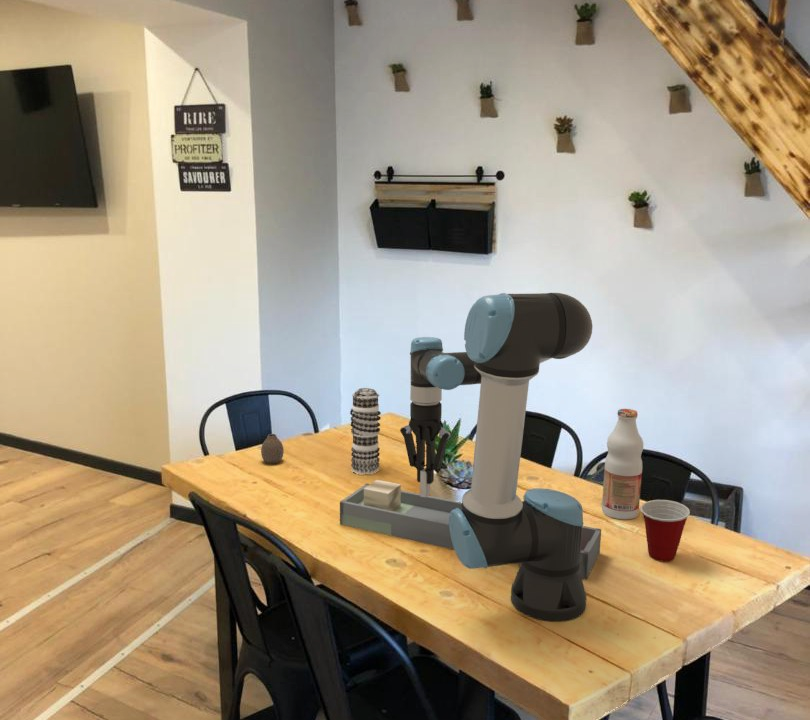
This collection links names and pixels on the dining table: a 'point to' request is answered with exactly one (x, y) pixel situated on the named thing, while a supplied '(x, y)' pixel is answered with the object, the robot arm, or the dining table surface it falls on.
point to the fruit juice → (623, 468)
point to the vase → (272, 449)
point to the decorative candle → (365, 431)
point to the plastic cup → (664, 527)
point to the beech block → (383, 495)
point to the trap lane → (433, 523)
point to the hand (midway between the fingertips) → (425, 495)
